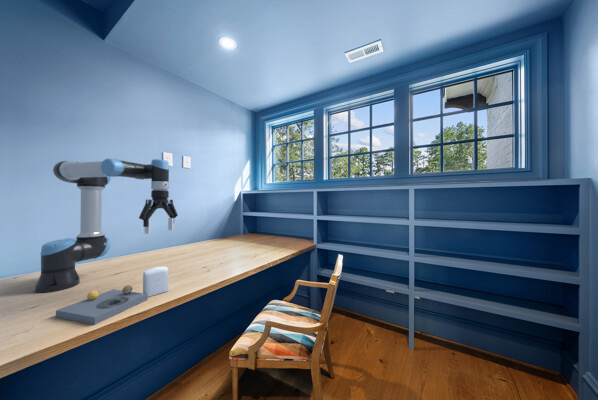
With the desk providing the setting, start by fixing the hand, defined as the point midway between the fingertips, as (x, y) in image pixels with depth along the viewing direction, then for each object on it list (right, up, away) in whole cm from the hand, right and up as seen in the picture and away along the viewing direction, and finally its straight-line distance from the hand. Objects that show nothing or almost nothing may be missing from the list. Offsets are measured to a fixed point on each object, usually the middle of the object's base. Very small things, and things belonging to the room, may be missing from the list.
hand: (159, 231), depth 111 cm
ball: (-15, -24, -20) cm, 34 cm away
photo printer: (+4, -28, -9) cm, 30 cm away
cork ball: (-5, -24, -15) cm, 28 cm away
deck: (-8, -28, -22) cm, 36 cm away
